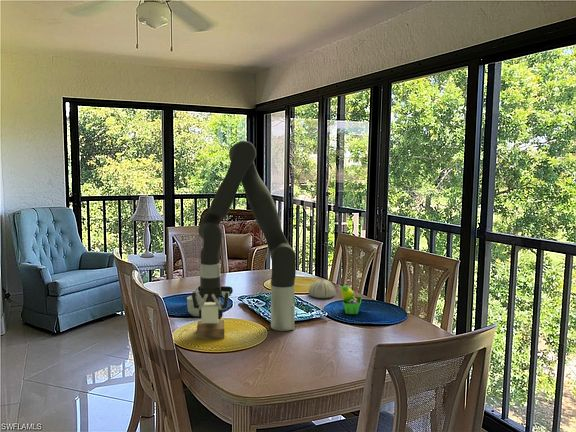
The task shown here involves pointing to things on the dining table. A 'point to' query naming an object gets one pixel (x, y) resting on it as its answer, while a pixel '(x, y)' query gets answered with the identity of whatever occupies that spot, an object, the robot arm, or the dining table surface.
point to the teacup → (191, 307)
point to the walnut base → (210, 330)
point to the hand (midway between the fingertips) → (210, 318)
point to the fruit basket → (350, 301)
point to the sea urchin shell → (322, 289)
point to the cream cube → (209, 313)
